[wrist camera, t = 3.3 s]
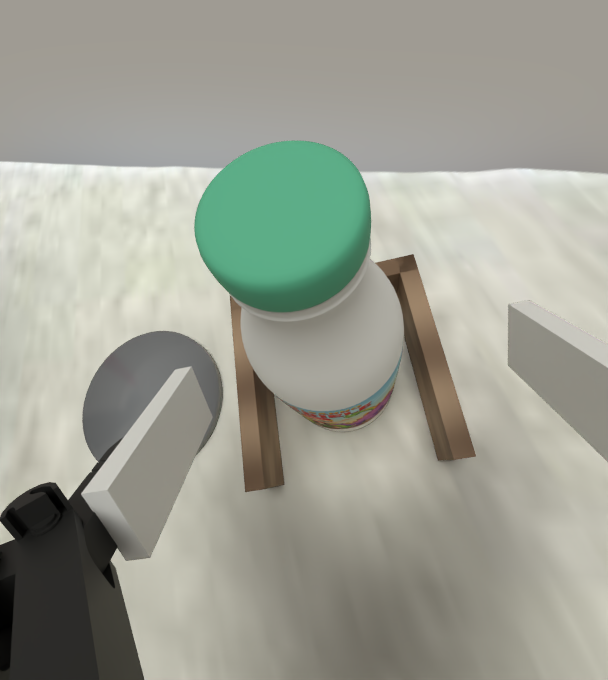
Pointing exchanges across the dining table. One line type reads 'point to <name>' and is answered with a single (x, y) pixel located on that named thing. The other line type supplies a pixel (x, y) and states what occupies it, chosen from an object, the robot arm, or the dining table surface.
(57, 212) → the dining table surface
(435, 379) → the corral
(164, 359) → the coaster
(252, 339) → the milk bottle
